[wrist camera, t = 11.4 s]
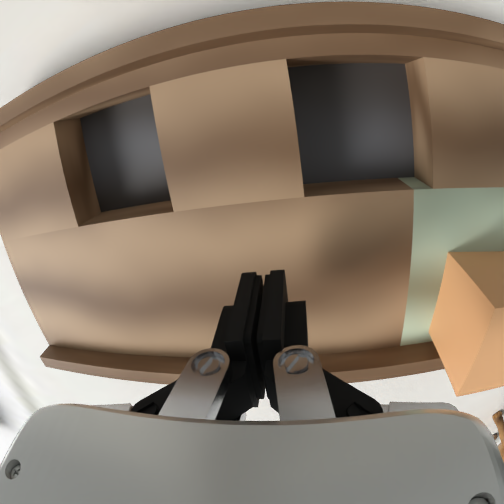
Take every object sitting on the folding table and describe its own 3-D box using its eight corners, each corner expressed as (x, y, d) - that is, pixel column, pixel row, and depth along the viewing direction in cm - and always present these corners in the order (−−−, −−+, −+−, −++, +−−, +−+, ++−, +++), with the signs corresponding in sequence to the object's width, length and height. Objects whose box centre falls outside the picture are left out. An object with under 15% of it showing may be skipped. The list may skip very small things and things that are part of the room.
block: (447, 252, 13) (495, 308, 9) (516, 251, 13) (566, 298, 8) (428, 332, 16) (456, 396, 11) (493, 324, 15) (528, 378, 10)
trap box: (5, 126, 16) (-40, 138, 12) (509, 49, 10) (554, 43, 6) (72, 333, 24) (45, 366, 20) (495, 310, 18) (522, 348, 14)
